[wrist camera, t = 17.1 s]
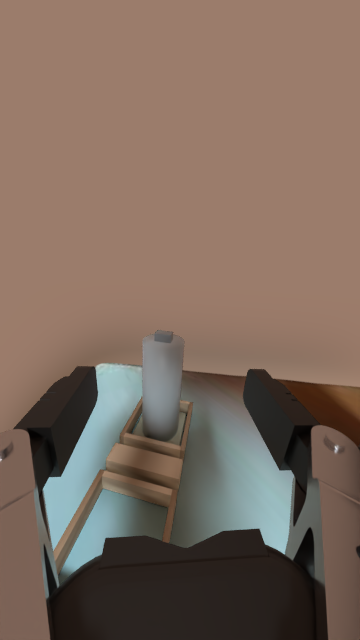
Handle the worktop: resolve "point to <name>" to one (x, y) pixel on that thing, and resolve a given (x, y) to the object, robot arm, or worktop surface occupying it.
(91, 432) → the worktop surface
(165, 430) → the grey cylindrical bottle
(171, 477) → the wooden organizer tray
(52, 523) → the worktop surface
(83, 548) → the worktop surface
